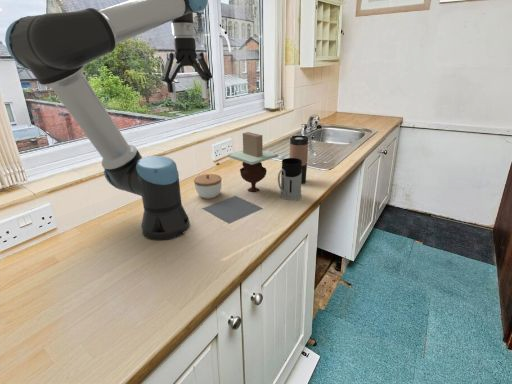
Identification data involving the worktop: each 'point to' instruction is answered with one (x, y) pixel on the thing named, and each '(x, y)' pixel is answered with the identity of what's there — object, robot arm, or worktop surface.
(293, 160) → the glass holder
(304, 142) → the travel mug
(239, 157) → the board
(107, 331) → the worktop surface
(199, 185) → the lidded jar
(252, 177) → the ice cream bowl
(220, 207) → the square tray
